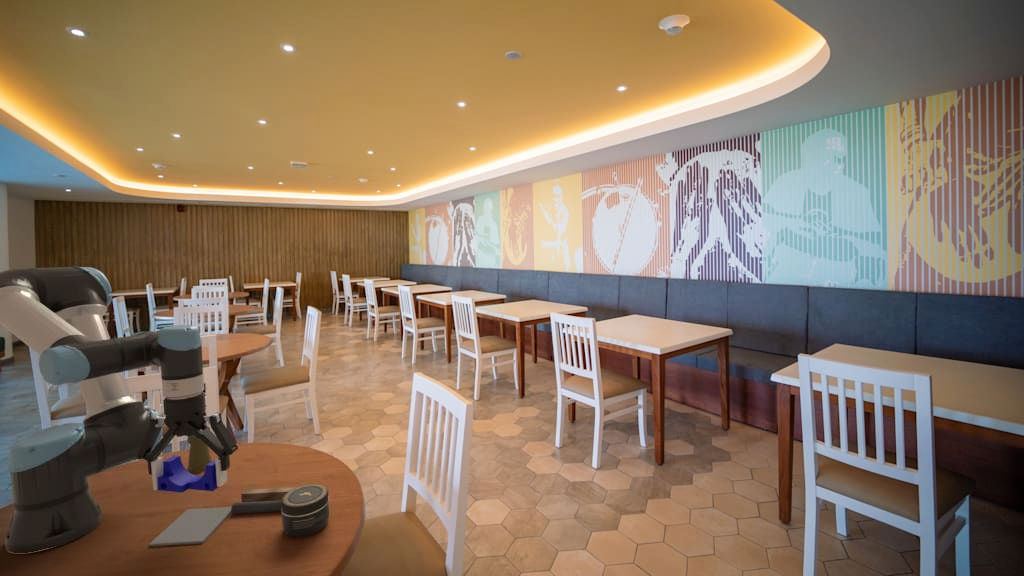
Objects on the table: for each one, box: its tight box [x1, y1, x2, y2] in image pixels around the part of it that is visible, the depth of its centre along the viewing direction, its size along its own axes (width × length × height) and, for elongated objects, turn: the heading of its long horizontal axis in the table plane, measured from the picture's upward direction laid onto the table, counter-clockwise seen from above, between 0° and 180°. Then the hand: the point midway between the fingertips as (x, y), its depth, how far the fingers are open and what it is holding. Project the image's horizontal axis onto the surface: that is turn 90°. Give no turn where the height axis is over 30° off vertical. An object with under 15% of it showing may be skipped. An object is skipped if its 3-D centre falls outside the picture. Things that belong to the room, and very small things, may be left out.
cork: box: [187, 429, 213, 474], centre depth 130 cm, size 6×6×11 cm
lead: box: [231, 500, 282, 515], centre depth 108 cm, size 14×2×2 cm
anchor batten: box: [240, 486, 298, 502], centre depth 113 cm, size 14×2×2 cm, turn 95°
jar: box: [280, 483, 330, 539], centre depth 102 cm, size 10×10×8 cm
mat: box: [148, 506, 232, 547], centre depth 102 cm, size 11×13×1 cm
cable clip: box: [157, 454, 219, 493], centre depth 101 cm, size 12×4×6 cm, turn 84°
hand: (191, 485), depth 101 cm, fingers closed on cable clip, 13 cm apart
